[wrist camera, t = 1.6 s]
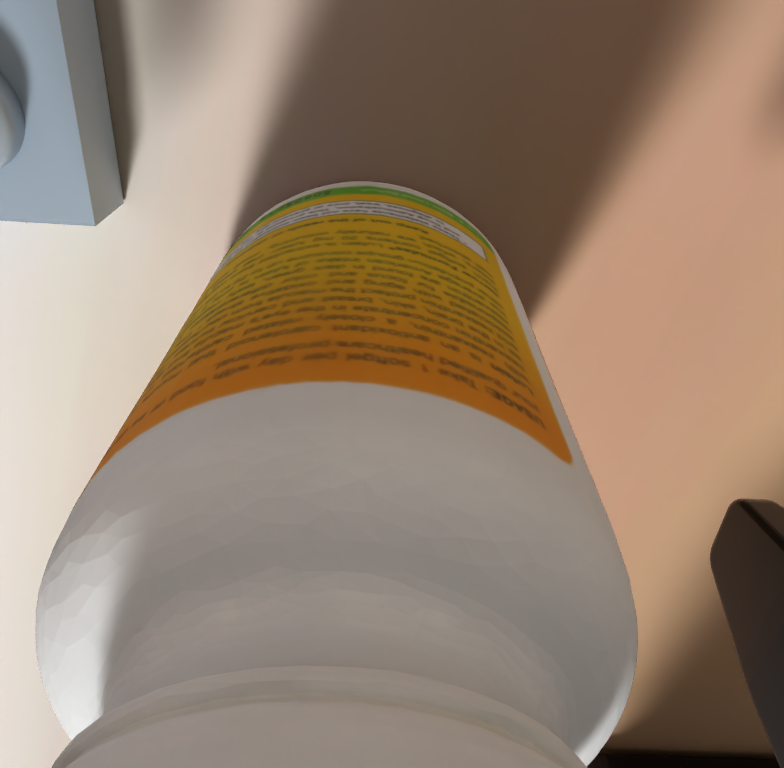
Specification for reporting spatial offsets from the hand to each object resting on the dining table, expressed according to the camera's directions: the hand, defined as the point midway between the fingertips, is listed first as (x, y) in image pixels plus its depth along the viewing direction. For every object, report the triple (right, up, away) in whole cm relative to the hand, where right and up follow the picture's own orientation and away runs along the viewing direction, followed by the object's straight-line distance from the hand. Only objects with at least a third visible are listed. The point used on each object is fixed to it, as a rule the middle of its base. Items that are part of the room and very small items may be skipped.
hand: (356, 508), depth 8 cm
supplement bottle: (0, +3, +4) cm, 5 cm away
